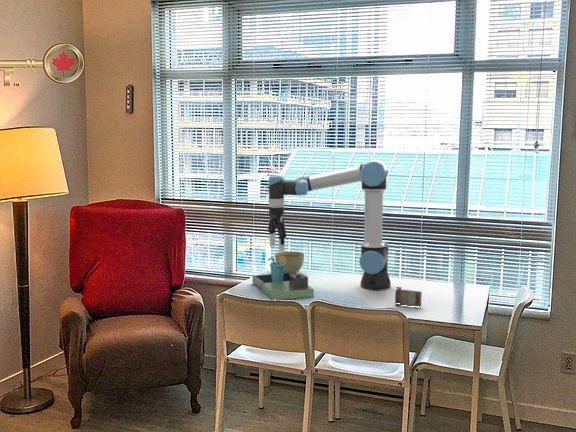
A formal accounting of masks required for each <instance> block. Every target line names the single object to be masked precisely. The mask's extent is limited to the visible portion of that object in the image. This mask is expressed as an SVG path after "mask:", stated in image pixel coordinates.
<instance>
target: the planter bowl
mask: <svg viewBox="0 0 576 432" xmlns="http://www.w3.org/2000/svg"><path fill="white" fill-rule="evenodd" d="M281 256H284V257H286V260H287V261H286V264H285V266H284V273H291V274H292V275H295V274H296V272H297V271H300V270H301V269H302V266H303V264H304V258H305V253H304V252H299V251H279V252H275V253H274V258H275V259H274V260H275V262H278V260H279V257H281Z"/></svg>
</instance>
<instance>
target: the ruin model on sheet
mask: <svg viewBox="0 0 576 432" xmlns="http://www.w3.org/2000/svg"><path fill="white" fill-rule="evenodd" d="M394 295H395V297H394V298H395V300H394V302H395V303H394V305H395V304H396V303H400V305H407V306H419V307H420V306H421V307H422V299H423V298H422V295H423V293H422V291H418V290H409V289H402V286H396V289H395V294H394ZM400 305H399V306H400Z"/></svg>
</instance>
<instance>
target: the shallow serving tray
mask: <svg viewBox="0 0 576 432" xmlns="http://www.w3.org/2000/svg"><path fill="white" fill-rule="evenodd" d="M252 285H253V286H255V287H256V288H257V289H258V290H260V292H262V293H264V294H265V295H266V296H268V298H269V299H271V298H272V299H288V300H298V299H307V298H314V296H315V295H314V293H315V292H314V288H313V287H311V286H310V285H309V276H307V275H305V274H304V273H302V271H300V270H299V271H297V272H296V274H295V275H292V274H291V273H283V282H272V277H271V273H270V274H269V273H268V274H257V275H255V274H254V275H252ZM272 299H271V300H272Z"/></svg>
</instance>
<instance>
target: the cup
mask: <svg viewBox="0 0 576 432" xmlns="http://www.w3.org/2000/svg"><path fill="white" fill-rule="evenodd" d="M274 258H275V257H273V256H271V257H270V258H268V259H267V261H272V262H270V264H269V267H270V274H271V277H272V282H283V273H284V266H285V264H286V261H287V260H286V257H284V256H281V257H279V260H278V262H276V261H275V259H274Z"/></svg>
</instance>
